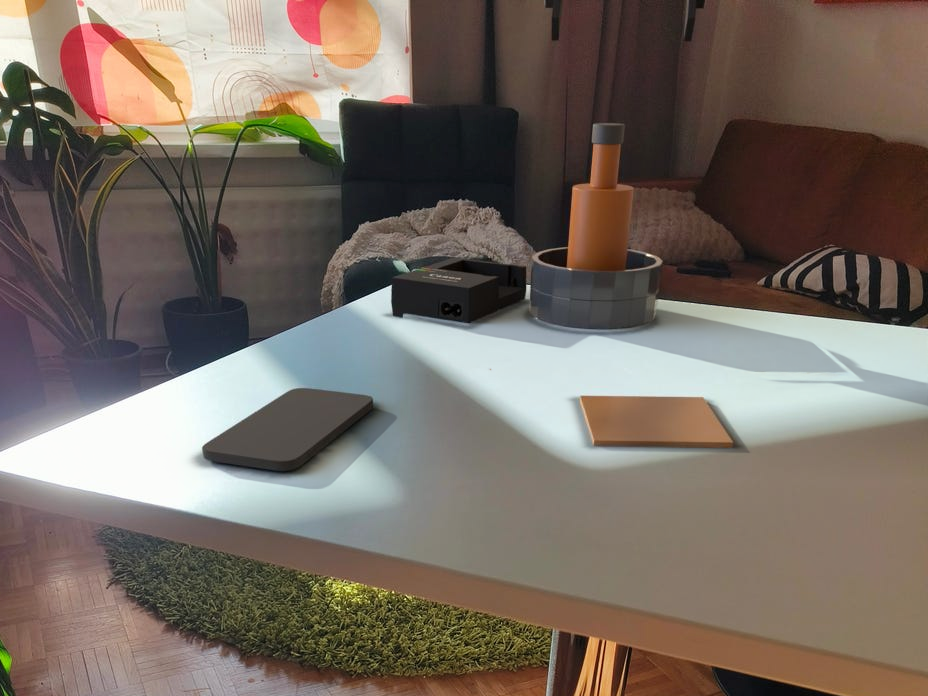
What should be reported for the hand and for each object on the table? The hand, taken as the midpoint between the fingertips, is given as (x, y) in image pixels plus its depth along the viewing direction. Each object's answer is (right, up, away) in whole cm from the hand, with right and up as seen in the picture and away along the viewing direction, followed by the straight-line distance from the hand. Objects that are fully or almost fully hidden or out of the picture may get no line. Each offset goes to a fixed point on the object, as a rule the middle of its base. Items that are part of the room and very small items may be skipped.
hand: (621, 30), depth 91 cm
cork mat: (-2, -46, -23) cm, 51 cm away
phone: (-29, -47, -25) cm, 61 cm away
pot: (-3, -28, +4) cm, 29 cm away
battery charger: (-16, -26, +7) cm, 32 cm away
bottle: (-3, -28, +3) cm, 28 cm away
